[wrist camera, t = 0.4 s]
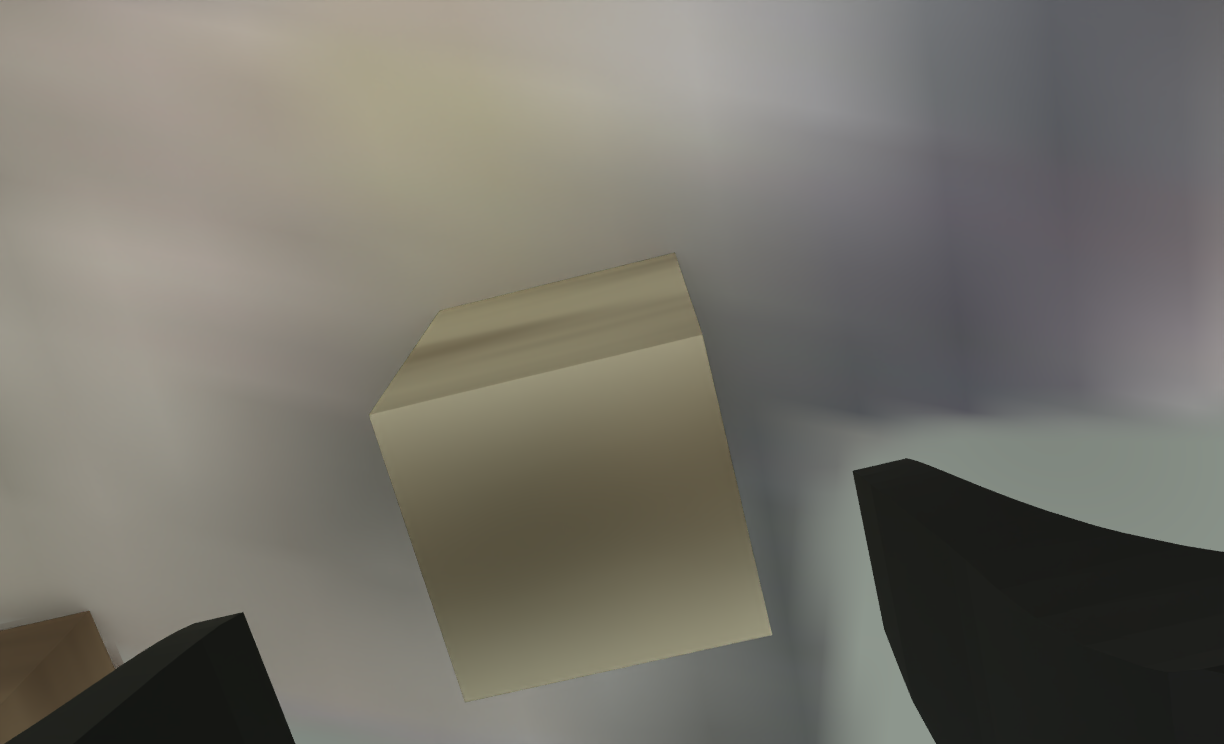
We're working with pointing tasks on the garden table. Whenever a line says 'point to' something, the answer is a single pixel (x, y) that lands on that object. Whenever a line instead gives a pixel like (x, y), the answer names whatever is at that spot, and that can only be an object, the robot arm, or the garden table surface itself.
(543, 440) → the brass block
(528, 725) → the garden table surface
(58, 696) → the walnut box
